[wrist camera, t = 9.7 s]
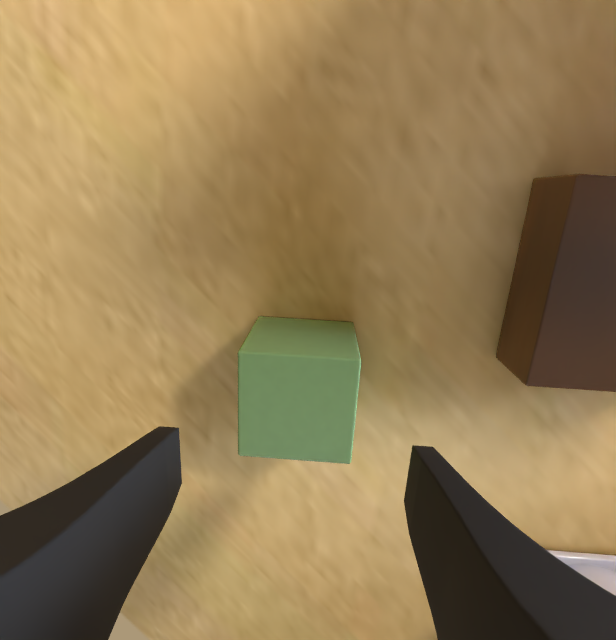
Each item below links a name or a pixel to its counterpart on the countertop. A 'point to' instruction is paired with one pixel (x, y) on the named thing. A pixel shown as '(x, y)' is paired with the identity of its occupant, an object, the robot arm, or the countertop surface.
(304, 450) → the green block
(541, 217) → the walnut block
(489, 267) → the countertop surface
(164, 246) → the countertop surface
